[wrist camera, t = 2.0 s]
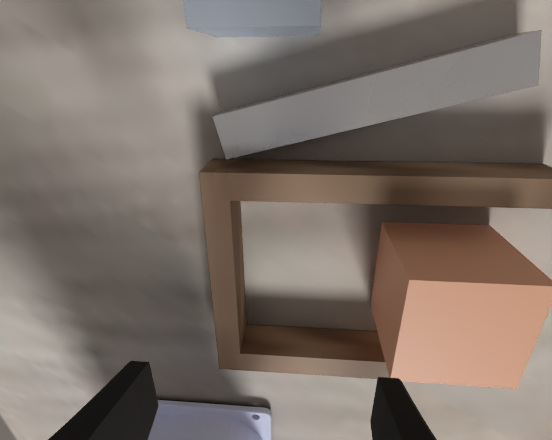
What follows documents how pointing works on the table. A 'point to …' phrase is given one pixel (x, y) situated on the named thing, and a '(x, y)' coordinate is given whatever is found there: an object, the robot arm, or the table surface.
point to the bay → (332, 189)
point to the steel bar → (383, 95)
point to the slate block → (254, 17)
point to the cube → (456, 304)
